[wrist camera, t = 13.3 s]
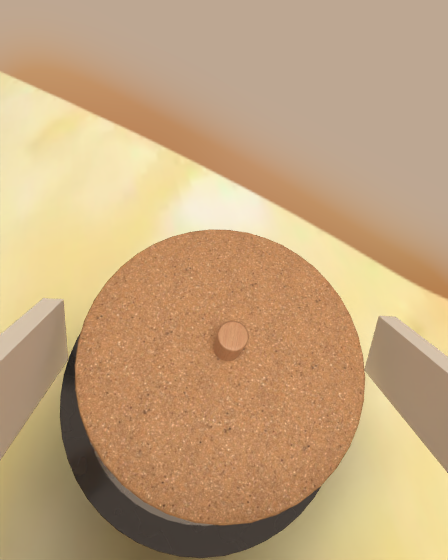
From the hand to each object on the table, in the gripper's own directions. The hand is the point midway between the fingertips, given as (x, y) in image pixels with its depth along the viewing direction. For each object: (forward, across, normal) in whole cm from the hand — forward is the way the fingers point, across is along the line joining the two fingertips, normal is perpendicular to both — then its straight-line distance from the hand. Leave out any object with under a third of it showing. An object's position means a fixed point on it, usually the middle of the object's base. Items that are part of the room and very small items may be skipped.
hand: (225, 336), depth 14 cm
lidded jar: (+4, 0, -5) cm, 7 cm away
